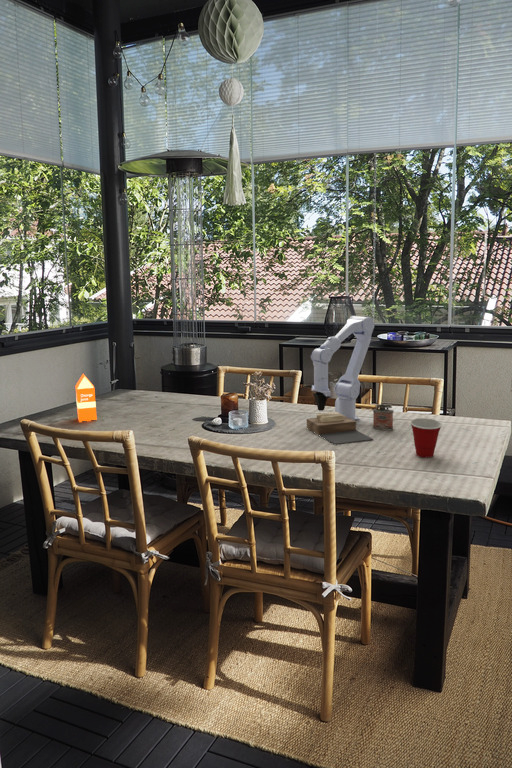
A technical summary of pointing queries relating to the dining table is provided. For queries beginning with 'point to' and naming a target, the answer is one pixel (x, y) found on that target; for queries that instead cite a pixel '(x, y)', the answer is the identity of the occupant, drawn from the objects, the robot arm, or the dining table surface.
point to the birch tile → (330, 417)
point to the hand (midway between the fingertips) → (321, 410)
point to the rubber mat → (346, 437)
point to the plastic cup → (425, 435)
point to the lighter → (383, 417)
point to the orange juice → (85, 400)
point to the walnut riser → (331, 425)
